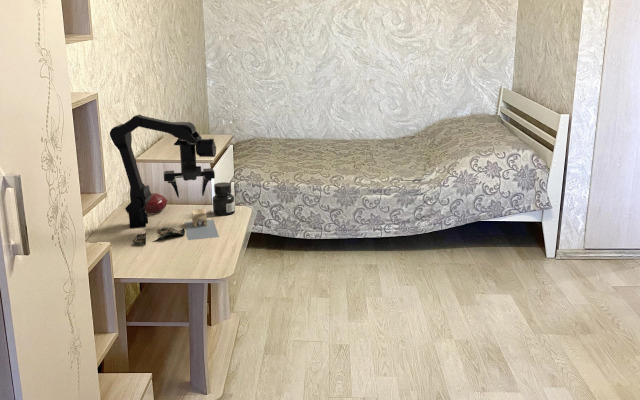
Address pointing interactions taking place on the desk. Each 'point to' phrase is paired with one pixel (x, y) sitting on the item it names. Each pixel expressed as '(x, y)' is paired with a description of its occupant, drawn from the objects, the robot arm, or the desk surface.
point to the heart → (156, 204)
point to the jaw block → (199, 216)
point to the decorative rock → (164, 232)
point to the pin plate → (201, 230)
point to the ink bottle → (223, 199)
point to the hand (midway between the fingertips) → (190, 196)
